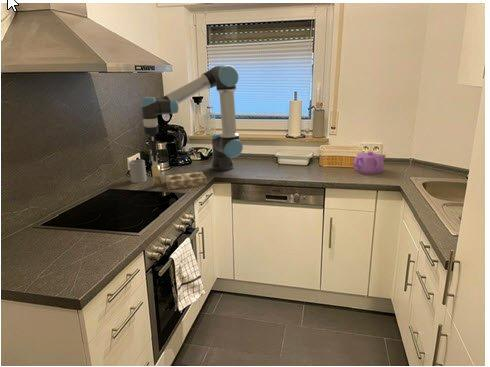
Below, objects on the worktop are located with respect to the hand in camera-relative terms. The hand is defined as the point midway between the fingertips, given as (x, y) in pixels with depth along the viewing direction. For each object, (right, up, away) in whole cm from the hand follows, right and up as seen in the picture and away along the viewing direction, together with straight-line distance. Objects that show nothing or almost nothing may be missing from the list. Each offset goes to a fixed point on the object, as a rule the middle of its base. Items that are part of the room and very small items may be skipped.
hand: (154, 163), depth 197 cm
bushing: (+1, -12, +4) cm, 13 cm away
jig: (+17, -11, +7) cm, 21 cm away
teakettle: (+128, -4, +19) cm, 129 cm away
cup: (-13, -9, +15) cm, 22 cm away
